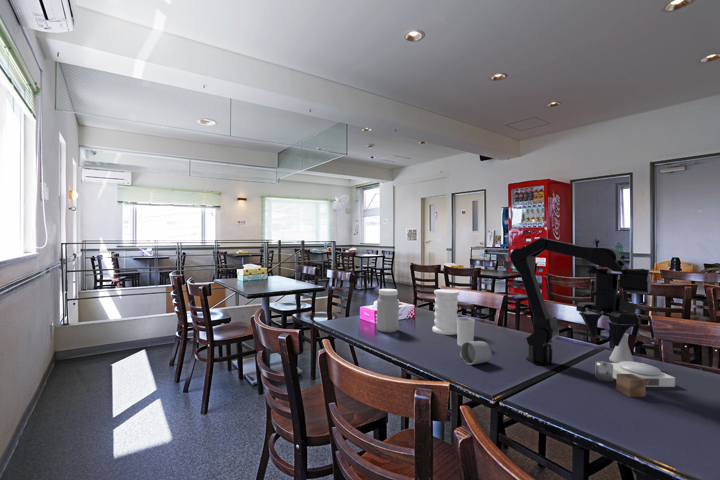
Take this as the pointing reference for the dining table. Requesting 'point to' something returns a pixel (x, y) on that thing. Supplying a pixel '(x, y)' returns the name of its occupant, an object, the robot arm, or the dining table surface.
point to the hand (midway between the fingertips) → (604, 341)
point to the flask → (621, 351)
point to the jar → (387, 310)
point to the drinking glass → (465, 330)
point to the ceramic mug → (475, 352)
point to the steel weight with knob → (604, 371)
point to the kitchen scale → (644, 373)
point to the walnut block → (631, 385)
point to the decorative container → (446, 311)
